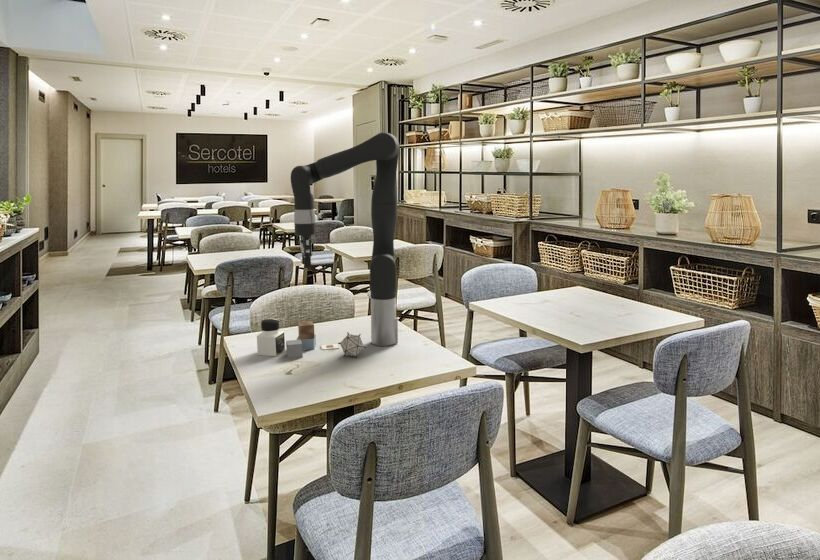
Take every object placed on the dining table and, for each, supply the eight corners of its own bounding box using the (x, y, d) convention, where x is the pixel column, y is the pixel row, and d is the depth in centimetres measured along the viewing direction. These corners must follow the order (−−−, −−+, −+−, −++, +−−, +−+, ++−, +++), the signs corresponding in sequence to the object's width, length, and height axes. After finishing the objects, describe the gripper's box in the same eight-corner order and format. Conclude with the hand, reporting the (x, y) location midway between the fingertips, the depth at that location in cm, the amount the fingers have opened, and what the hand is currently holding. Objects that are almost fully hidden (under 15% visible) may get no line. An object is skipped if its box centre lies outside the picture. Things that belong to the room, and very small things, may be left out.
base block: (316, 344, 207) (315, 334, 207) (314, 350, 202) (313, 339, 201) (299, 345, 207) (299, 334, 206) (297, 350, 201) (296, 339, 201)
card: (337, 344, 207) (337, 343, 207) (339, 348, 202) (339, 347, 202) (320, 346, 205) (320, 345, 205) (322, 349, 201) (322, 348, 201)
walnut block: (312, 334, 207) (311, 321, 206) (314, 338, 202) (314, 324, 201) (298, 335, 205) (298, 322, 204) (300, 339, 200) (299, 326, 199)
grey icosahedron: (357, 365, 196) (375, 343, 195) (345, 364, 188) (363, 340, 187) (341, 349, 200) (358, 327, 199) (328, 347, 192) (346, 324, 191)
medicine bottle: (276, 356, 194) (275, 323, 191) (257, 355, 195) (255, 321, 193) (285, 350, 201) (283, 317, 198) (266, 349, 202) (264, 316, 200)
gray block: (301, 353, 198) (300, 339, 197) (302, 357, 193) (302, 343, 192) (286, 354, 196) (286, 340, 195) (287, 359, 192) (287, 345, 191)
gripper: (317, 223, 199) (319, 268, 202) (313, 219, 213) (314, 262, 216) (296, 224, 197) (298, 269, 200) (292, 220, 211) (294, 263, 214)
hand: (306, 265), depth 208 cm, fingers open, 8 cm apart
